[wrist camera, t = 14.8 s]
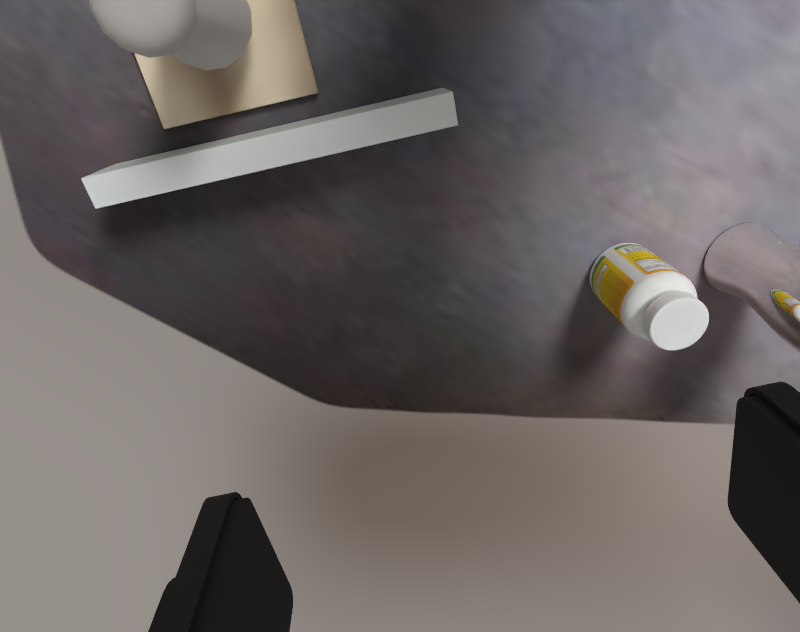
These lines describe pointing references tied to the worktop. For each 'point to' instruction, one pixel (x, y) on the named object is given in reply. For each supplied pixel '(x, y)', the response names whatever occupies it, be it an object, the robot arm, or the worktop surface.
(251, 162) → the acrylic wall
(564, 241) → the worktop surface
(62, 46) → the worktop surface
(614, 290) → the supplement bottle
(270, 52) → the coaster board
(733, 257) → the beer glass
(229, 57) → the salt shaker
